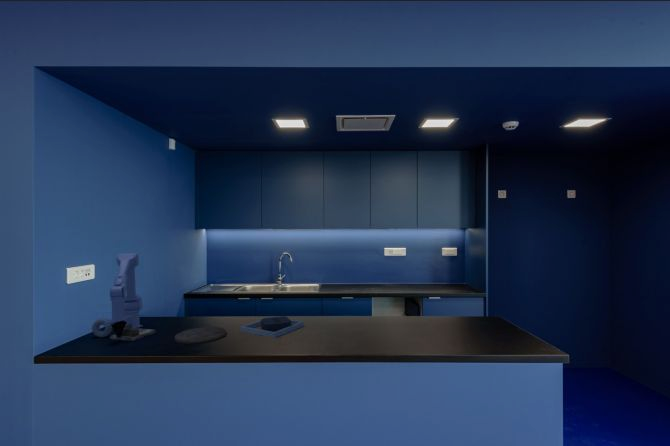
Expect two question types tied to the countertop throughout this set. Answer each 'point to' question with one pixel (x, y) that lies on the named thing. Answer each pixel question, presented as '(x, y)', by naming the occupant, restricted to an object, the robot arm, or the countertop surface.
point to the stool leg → (130, 332)
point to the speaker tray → (250, 329)
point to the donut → (97, 330)
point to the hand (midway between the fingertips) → (119, 336)
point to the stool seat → (131, 338)
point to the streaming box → (275, 323)
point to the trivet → (200, 335)
